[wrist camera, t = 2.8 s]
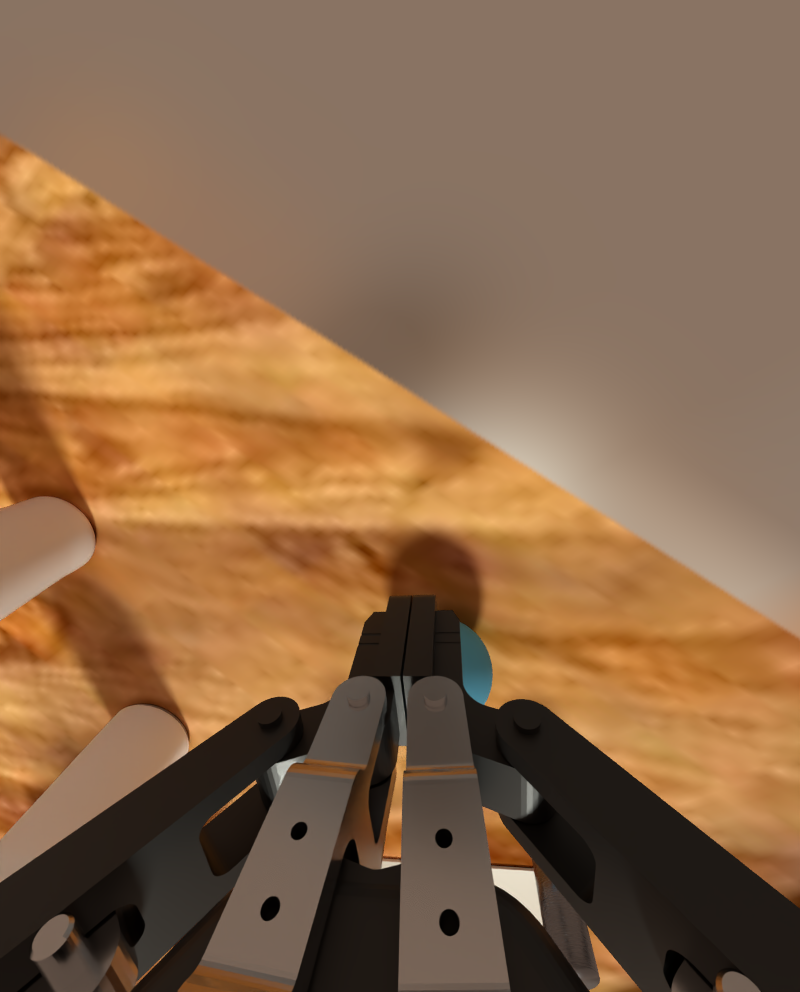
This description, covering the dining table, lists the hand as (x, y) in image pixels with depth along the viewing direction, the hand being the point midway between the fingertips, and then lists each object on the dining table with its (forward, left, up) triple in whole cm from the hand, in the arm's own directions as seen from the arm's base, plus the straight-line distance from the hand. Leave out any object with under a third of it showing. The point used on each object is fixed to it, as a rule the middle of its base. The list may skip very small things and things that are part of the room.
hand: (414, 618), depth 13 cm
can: (+24, +19, -12) cm, 33 cm away
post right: (-7, +26, -11) cm, 29 cm away
